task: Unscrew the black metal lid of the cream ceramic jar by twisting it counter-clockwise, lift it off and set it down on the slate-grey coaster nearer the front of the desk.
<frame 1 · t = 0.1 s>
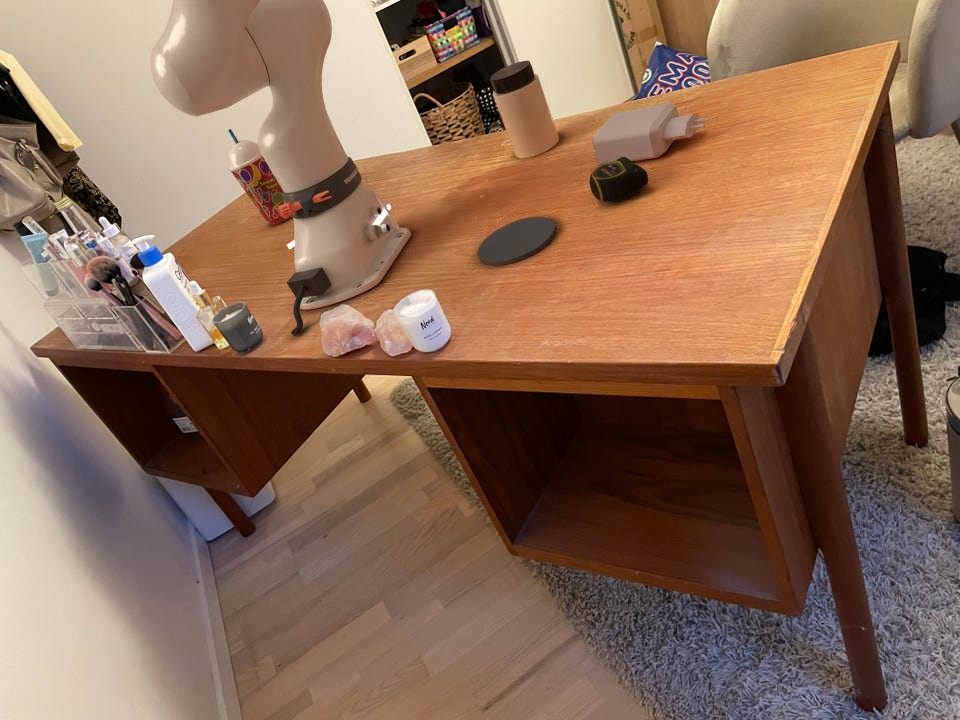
tape measure: (624, 192, 92), on the table
lid: (510, 72, 111), point 13 cm above the table, screwed on, not yet turned
charger: (659, 148, 99), on the table
coaster: (517, 242, 92), on the table
smoothie: (283, 218, 145), on the table
jar: (537, 146, 118), on the table
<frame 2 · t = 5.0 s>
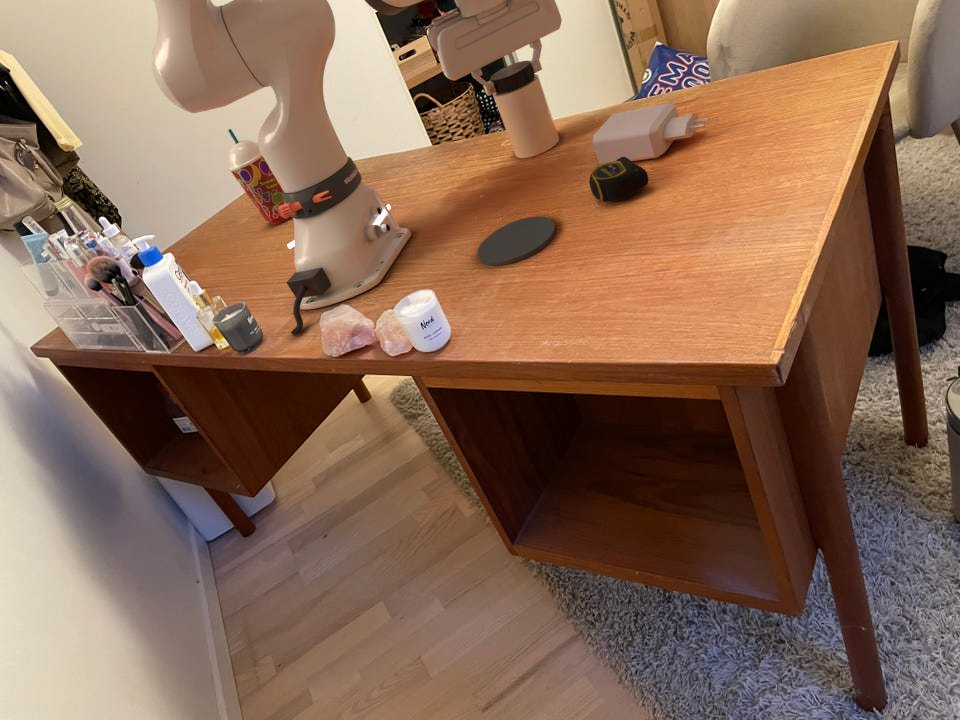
hand: (514, 82, 112), 11 cm above the table, tool pointing down, fingers closed on lid, 7 cm apart
lid: (510, 72, 111), point 13 cm above the table, screwed on, not yet turned, touching gripper
everything else where it was.
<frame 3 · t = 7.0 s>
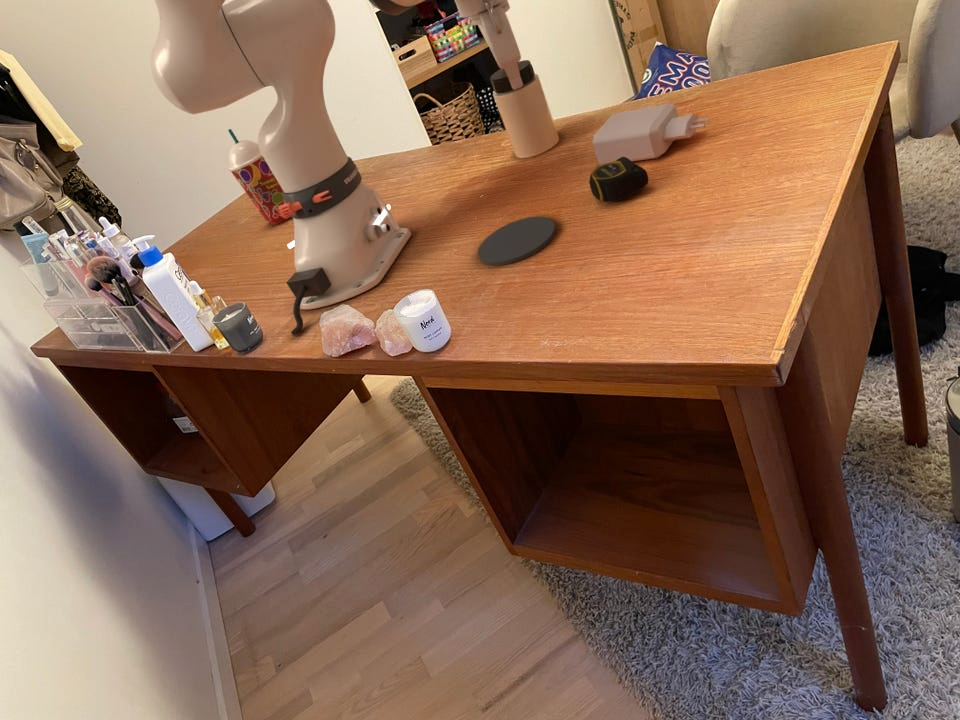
hand: (514, 81, 112), 11 cm above the table, tool pointing down, fingers closed on lid, 7 cm apart
lid: (510, 72, 111), point 13 cm above the table, turned 80° so far, risen 0.1 cm, still on its thread, touching gripper
everything else where it was.
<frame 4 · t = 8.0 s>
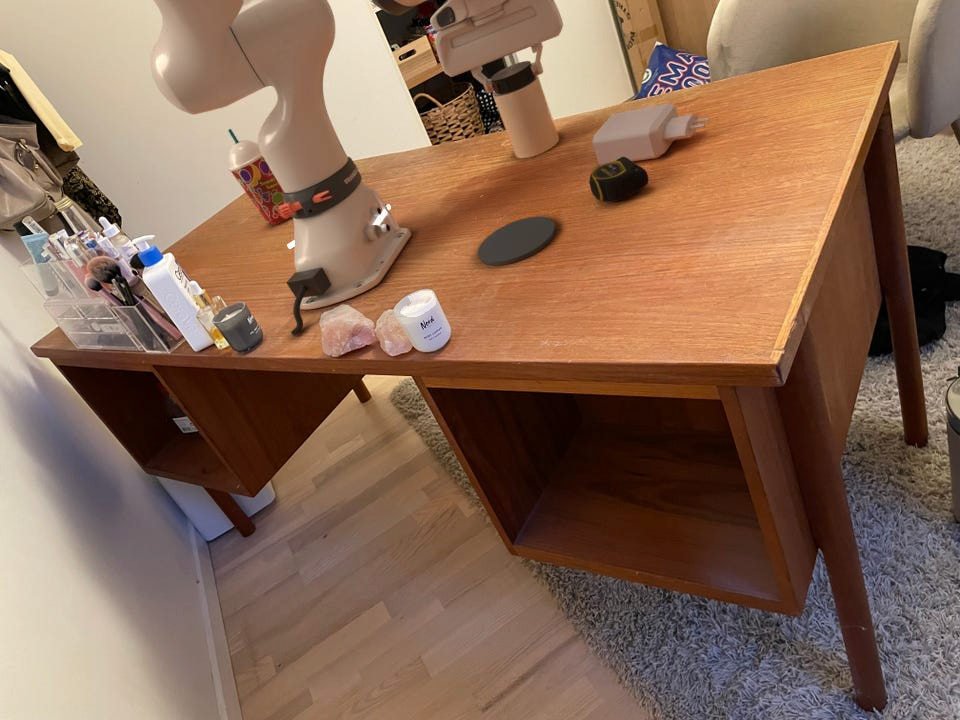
hand: (514, 82, 112), 11 cm above the table, tool pointing down, fingers closed on lid, 7 cm apart
lid: (511, 72, 111), point 13 cm above the table, off its thread, touching gripper
everything else where it was.
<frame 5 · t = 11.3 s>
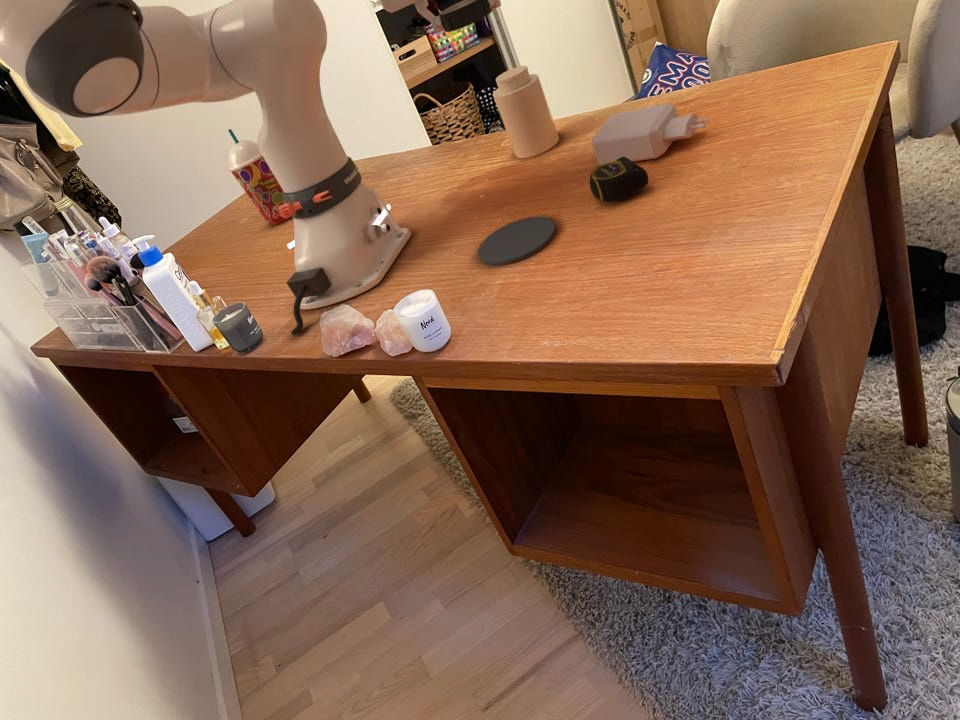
hand: (467, 19, 94), 25 cm above the table, tool pointing down, fingers closed on lid, 7 cm apart
lid: (463, 6, 93), point 27 cm above the table, off its thread, touching gripper
everything else where it was.
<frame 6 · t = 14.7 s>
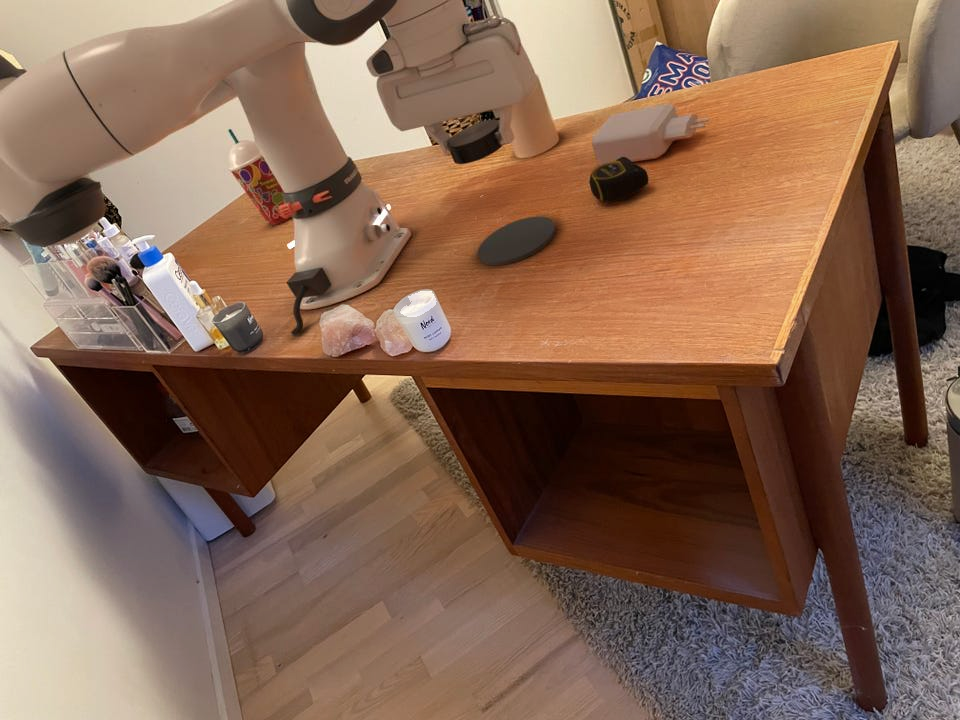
hand: (479, 148, 85), 14 cm above the table, tool pointing down, fingers closed on lid, 7 cm apart
lid: (473, 136, 84), point 15 cm above the table, off its thread, touching gripper
everything else where it was.
when the fingers open (1 cm above the table, at t = 17.8 s): lid stays where it is, resting on coaster.
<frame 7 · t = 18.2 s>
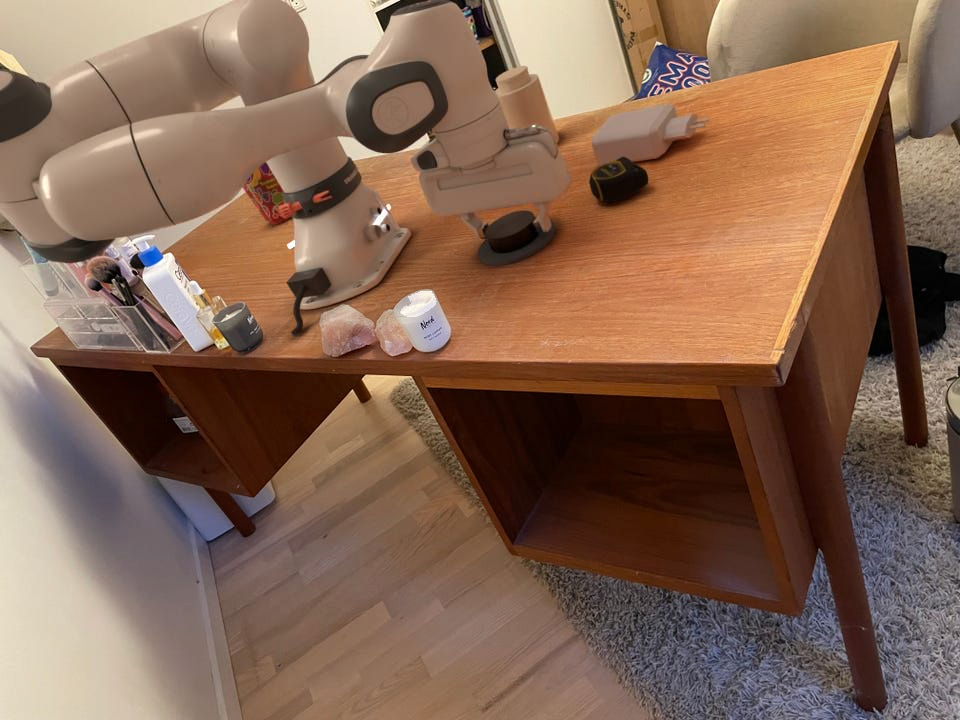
hand: (514, 233, 91), 1 cm above the table, tool pointing down, fingers open, 8 cm apart
lid: (510, 226, 91), point 2 cm above the table, off its thread, touching coaster
everything else where it was.
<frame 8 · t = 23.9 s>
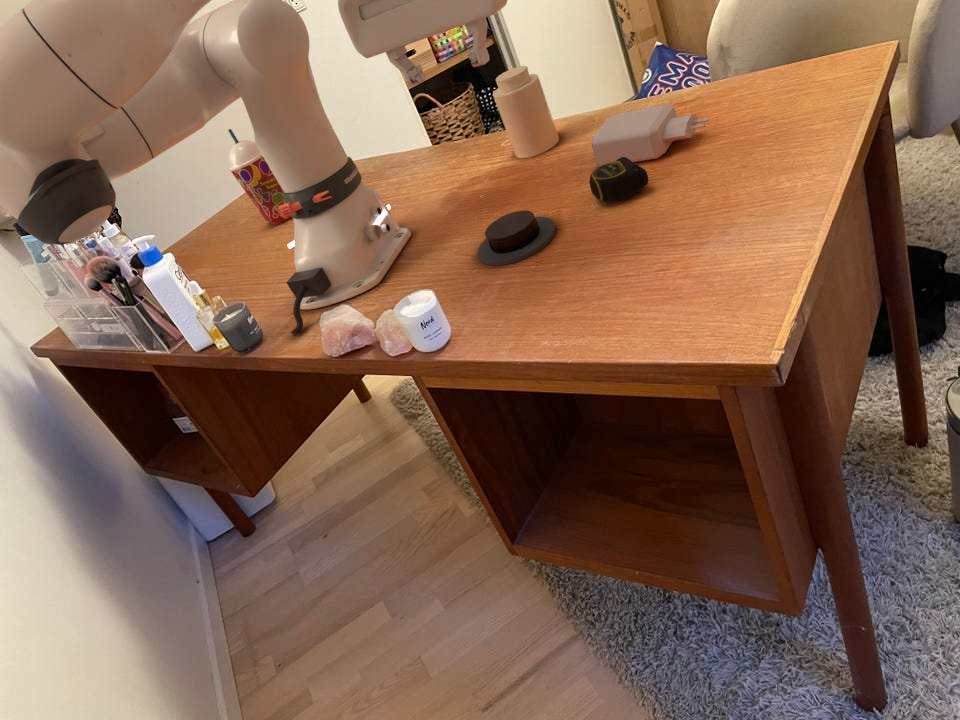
hand: (449, 73, 80), 23 cm above the table, tool pointing down, fingers open, 8 cm apart
nothing on the table moved.
at the end: lid 0.2 cm off-centre on the coaster, point 2.5 cm above the coaster's base; the gripper is holding nothing; jar tilted 0° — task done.
